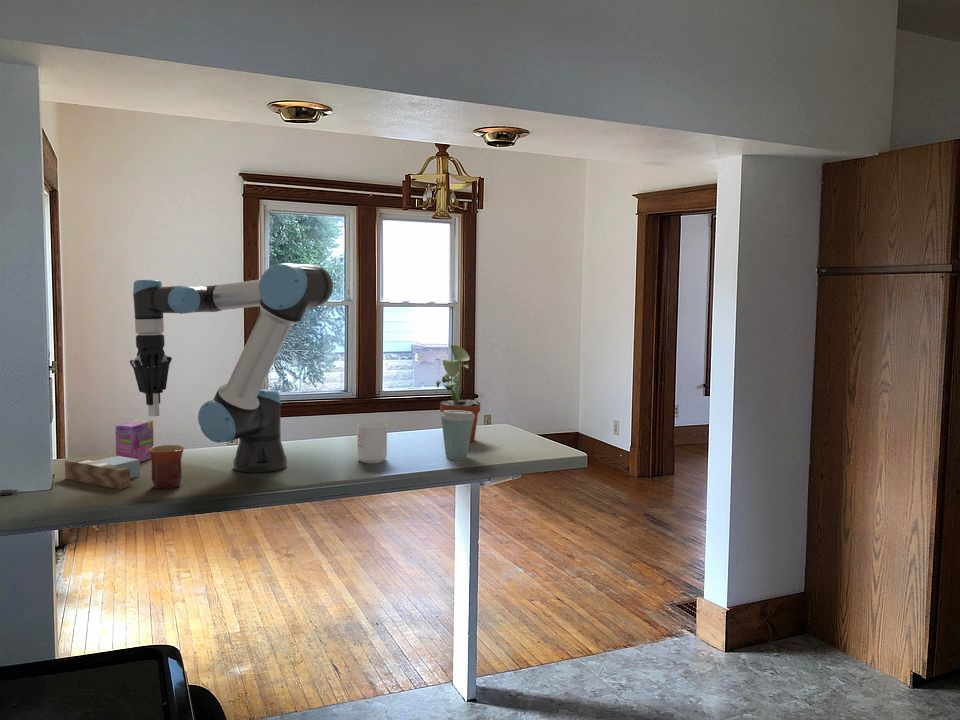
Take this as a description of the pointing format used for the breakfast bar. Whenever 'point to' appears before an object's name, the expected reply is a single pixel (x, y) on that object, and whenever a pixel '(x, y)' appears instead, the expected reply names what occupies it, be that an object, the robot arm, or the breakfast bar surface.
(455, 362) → the potted plant
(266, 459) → the robot arm
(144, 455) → the box
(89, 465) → the board
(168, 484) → the mug
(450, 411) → the disposable coffee cup
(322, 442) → the breakfast bar surface
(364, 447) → the mug
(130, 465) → the block
